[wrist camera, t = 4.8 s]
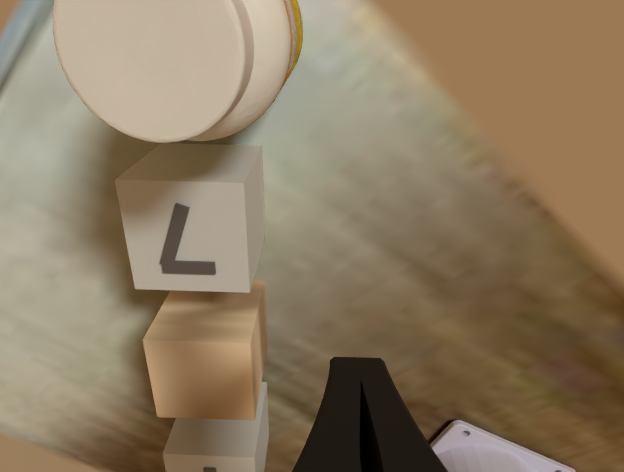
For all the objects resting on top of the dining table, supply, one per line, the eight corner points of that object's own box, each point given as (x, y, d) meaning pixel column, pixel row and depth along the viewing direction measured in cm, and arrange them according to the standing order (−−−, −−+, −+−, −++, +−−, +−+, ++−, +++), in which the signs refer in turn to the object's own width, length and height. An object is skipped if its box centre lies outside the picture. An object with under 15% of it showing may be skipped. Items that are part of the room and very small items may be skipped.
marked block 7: (262, 144, 20) (243, 184, 15) (265, 235, 22) (249, 294, 17) (161, 142, 20) (112, 180, 15) (174, 232, 22) (133, 290, 17)
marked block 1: (266, 381, 26) (254, 459, 22) (269, 434, 28) (257, 516, 24) (190, 378, 26) (161, 456, 22) (197, 432, 28) (173, 513, 24)
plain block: (265, 279, 23) (250, 343, 18) (267, 347, 25) (254, 420, 20) (178, 276, 23) (142, 339, 19) (187, 345, 25) (157, 417, 21)
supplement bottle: (295, -57, 16) (262, -133, 8) (309, 94, 19) (295, 163, 10) (153, -40, 17) (-31, -96, 8) (184, 106, 19) (69, 182, 11)
